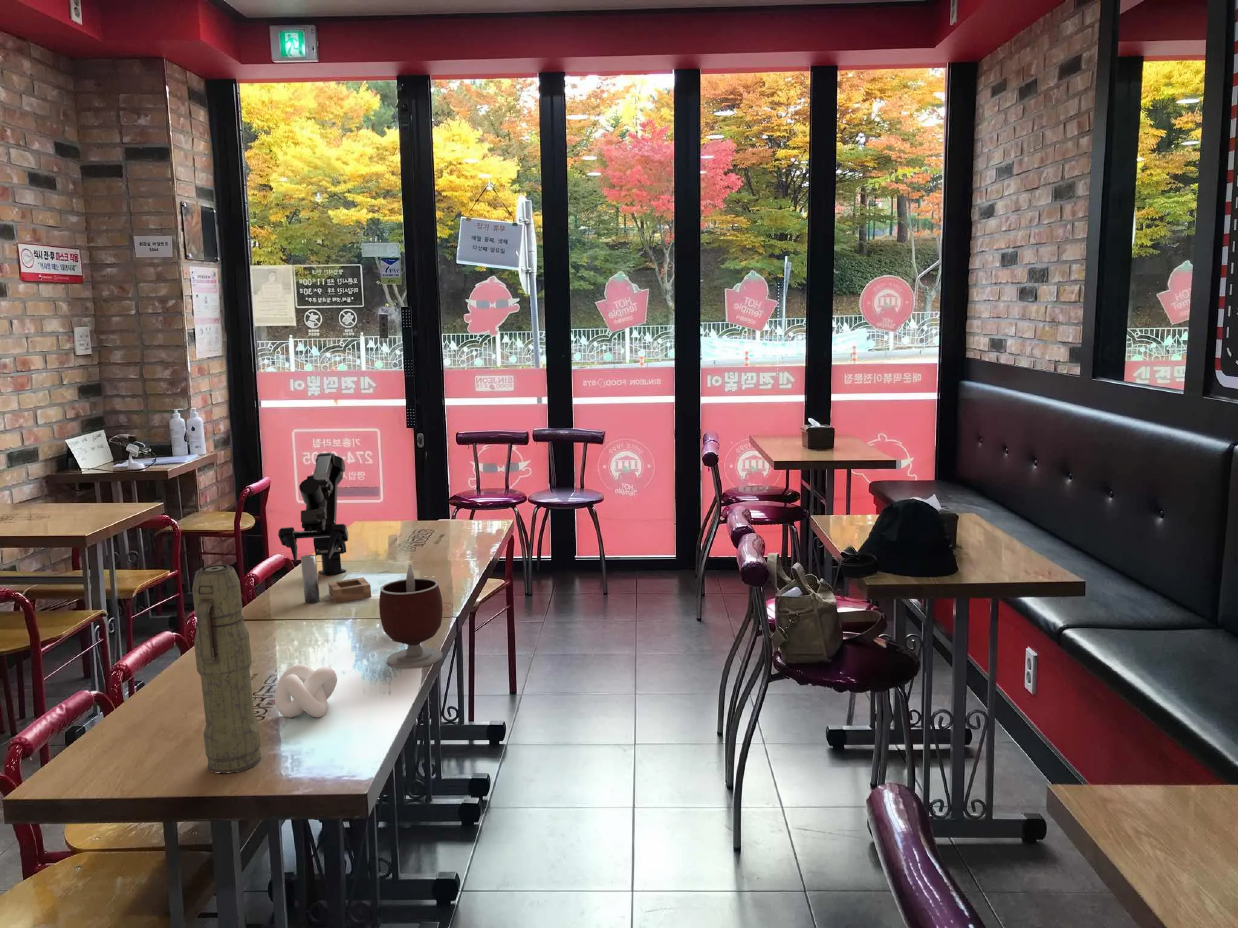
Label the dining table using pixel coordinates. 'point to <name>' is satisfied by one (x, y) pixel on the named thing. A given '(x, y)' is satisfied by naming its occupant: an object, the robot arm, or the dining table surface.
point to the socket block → (349, 589)
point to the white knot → (304, 690)
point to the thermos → (224, 671)
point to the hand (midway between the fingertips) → (311, 559)
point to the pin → (310, 579)
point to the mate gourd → (411, 619)
